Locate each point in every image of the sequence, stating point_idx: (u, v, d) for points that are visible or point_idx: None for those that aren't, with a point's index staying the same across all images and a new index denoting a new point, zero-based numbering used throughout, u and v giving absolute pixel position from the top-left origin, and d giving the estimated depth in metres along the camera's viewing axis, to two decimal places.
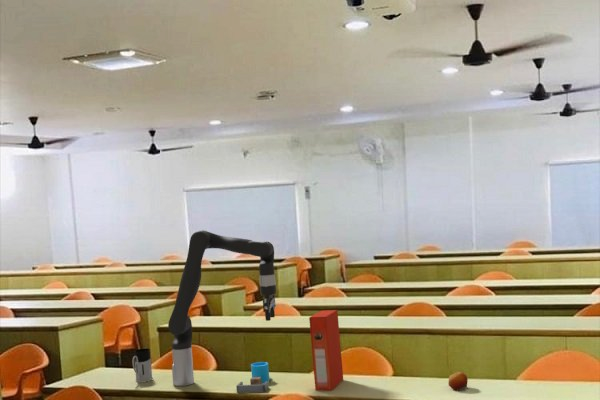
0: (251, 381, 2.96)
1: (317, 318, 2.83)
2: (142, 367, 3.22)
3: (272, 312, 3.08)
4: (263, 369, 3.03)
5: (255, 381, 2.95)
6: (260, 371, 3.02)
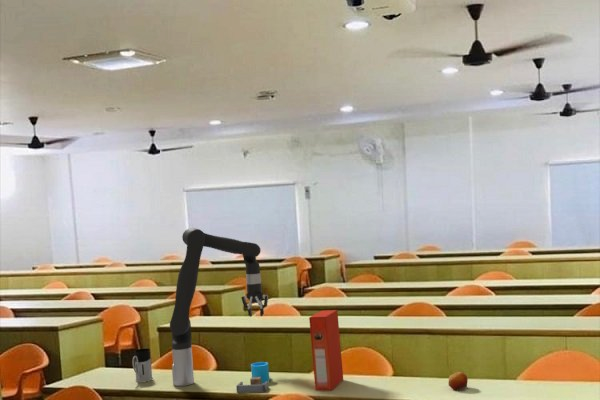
0: (251, 381, 2.96)
1: (317, 318, 2.83)
2: (142, 367, 3.22)
3: (251, 311, 3.29)
4: (263, 369, 3.03)
5: (255, 381, 2.95)
6: (260, 371, 3.02)
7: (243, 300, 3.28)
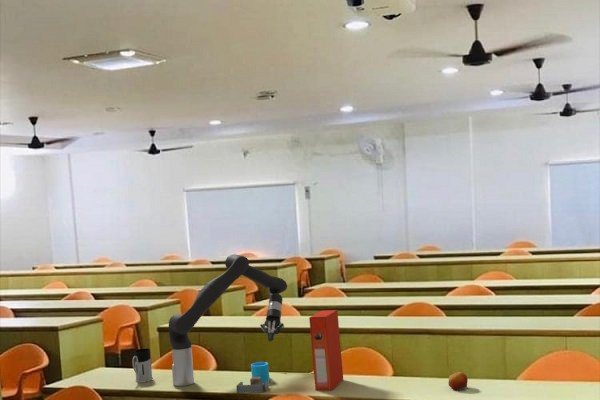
0: (251, 381, 2.96)
1: (317, 318, 2.83)
2: (142, 367, 3.22)
3: None
4: (263, 369, 3.03)
5: (255, 381, 2.95)
6: (260, 371, 3.02)
7: (262, 326, 3.34)
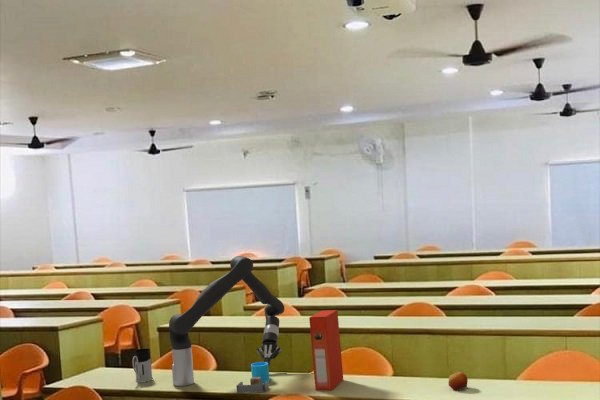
0: (251, 381, 2.96)
1: (317, 318, 2.83)
2: (142, 367, 3.22)
3: (267, 361, 3.20)
4: (263, 369, 3.03)
5: (255, 381, 2.95)
6: (260, 371, 3.02)
7: (259, 350, 3.23)
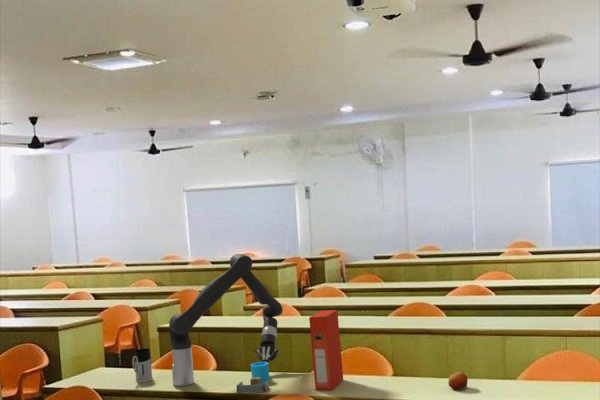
0: (251, 381, 2.96)
1: (317, 318, 2.83)
2: (142, 367, 3.22)
3: None
4: (263, 369, 3.03)
5: (255, 381, 2.95)
6: (259, 371, 3.02)
7: (256, 352, 3.20)
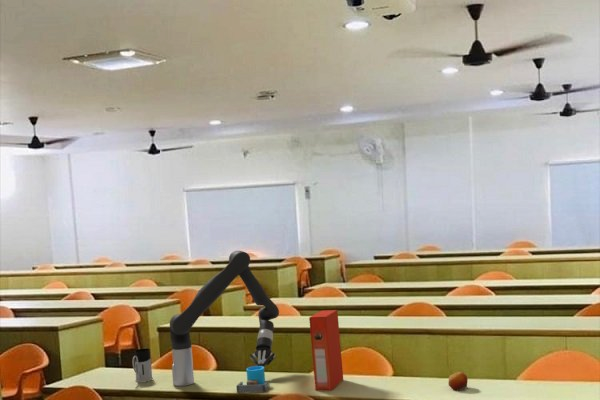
0: (247, 384, 2.91)
1: (317, 318, 2.83)
2: (142, 367, 3.22)
3: None
4: (258, 374, 2.95)
5: (252, 384, 2.90)
6: (254, 376, 2.94)
7: (252, 356, 3.11)
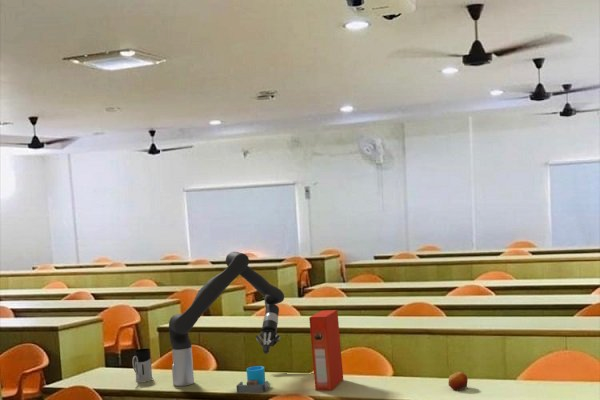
0: (247, 384, 2.91)
1: (317, 318, 2.83)
2: (142, 367, 3.22)
3: None
4: (258, 374, 2.95)
5: (252, 384, 2.90)
6: (254, 376, 2.94)
7: (258, 338, 3.26)
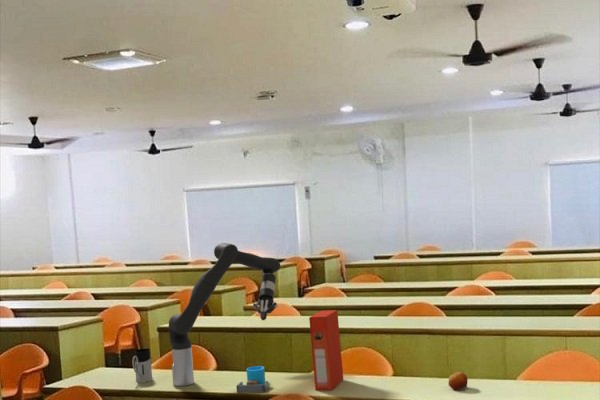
0: (247, 384, 2.91)
1: (317, 318, 2.83)
2: (142, 367, 3.22)
3: None
4: (258, 374, 2.94)
5: (252, 384, 2.90)
6: (254, 376, 2.94)
7: (255, 305, 3.31)
